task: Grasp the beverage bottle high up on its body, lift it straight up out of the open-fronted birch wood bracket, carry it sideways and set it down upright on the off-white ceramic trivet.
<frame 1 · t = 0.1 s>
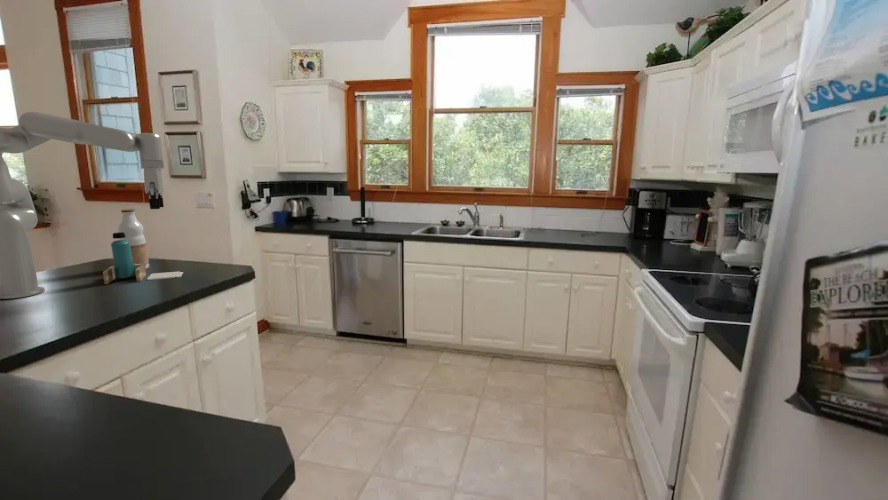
hand: (157, 208, 164), 30 cm above the worktop, tool pointing down, fingers open, 9 cm apart
bottle bracket: (126, 279, 170), on the worktop
trivet: (166, 276, 176), on the worktop
beverage bottle: (126, 279, 170), on the worktop
fruit juice: (137, 269, 188), on the worktop
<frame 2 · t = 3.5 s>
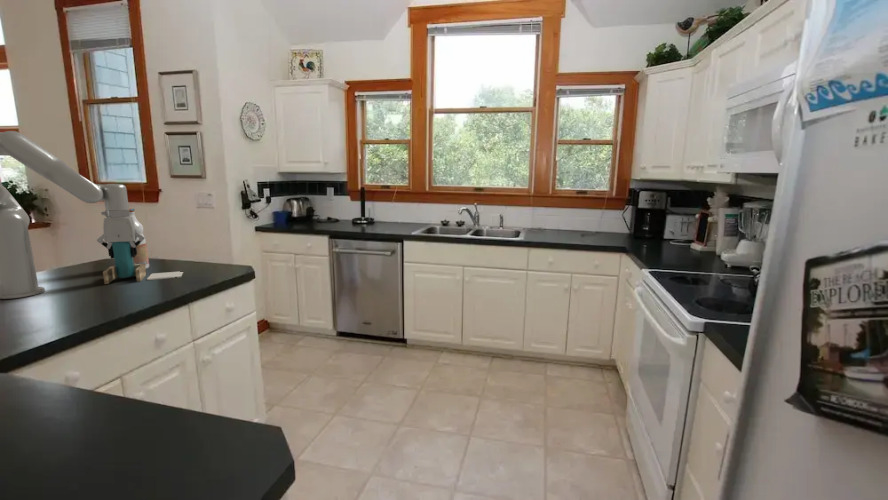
hand: (123, 256, 168), 10 cm above the worktop, tool pointing down, fingers closed on beverage bottle, 6 cm apart
beverage bottle: (126, 279, 170), on the worktop, touching gripper
everything else where it was.
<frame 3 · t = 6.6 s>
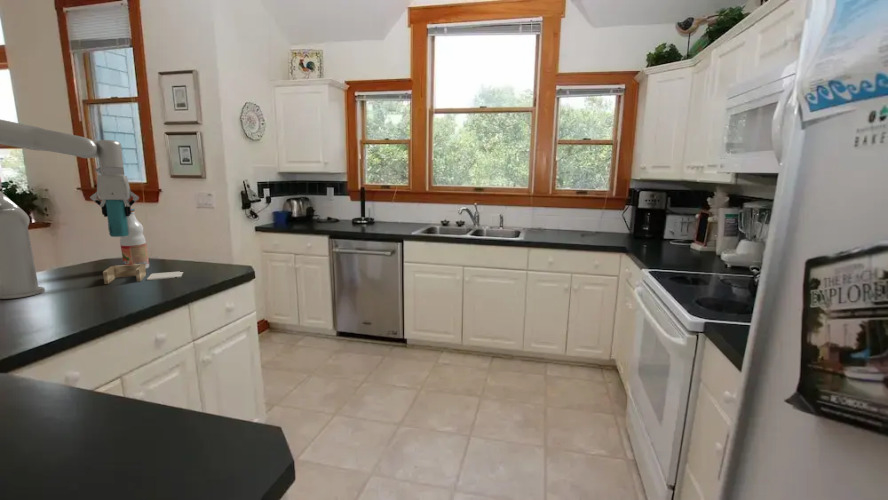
hand: (117, 216, 165), 27 cm above the worktop, tool pointing down, fingers closed on beverage bottle, 6 cm apart
beverage bottle: (119, 239, 167), point 17 cm above the worktop, touching gripper
everything else where it was.
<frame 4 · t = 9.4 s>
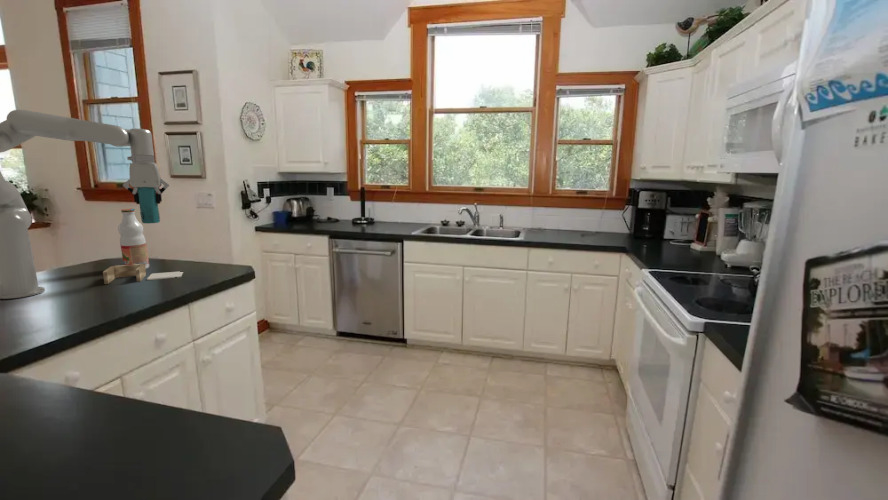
hand: (148, 203, 169), 32 cm above the worktop, tool pointing down, fingers closed on beverage bottle, 6 cm apart
beverage bottle: (151, 226, 171), point 22 cm above the worktop, touching gripper
everything else where it was.
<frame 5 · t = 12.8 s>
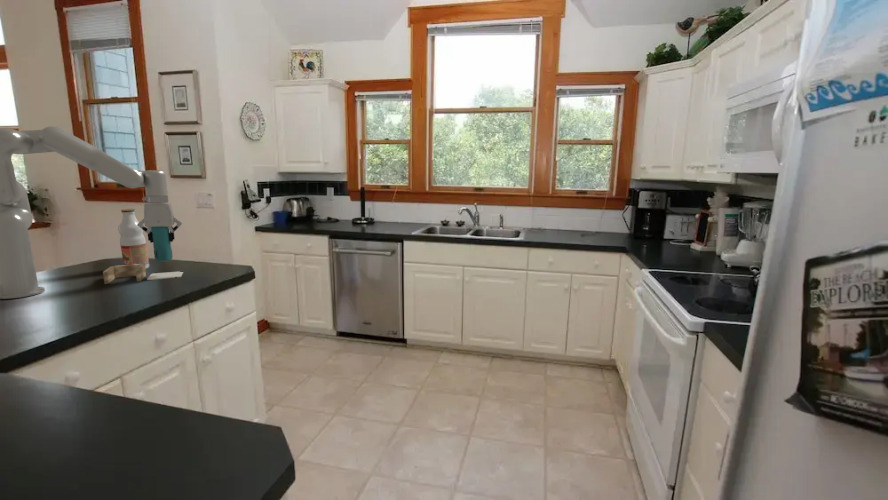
hand: (161, 241, 173), 15 cm above the worktop, tool pointing down, fingers closed on beverage bottle, 6 cm apart
beverage bottle: (164, 263, 175), point 6 cm above the worktop, touching gripper
everything else where it was.
when the fingers open (11 cm above the worktop, at t = 15.7 s): beverage bottle stays where it is, resting on trivet.
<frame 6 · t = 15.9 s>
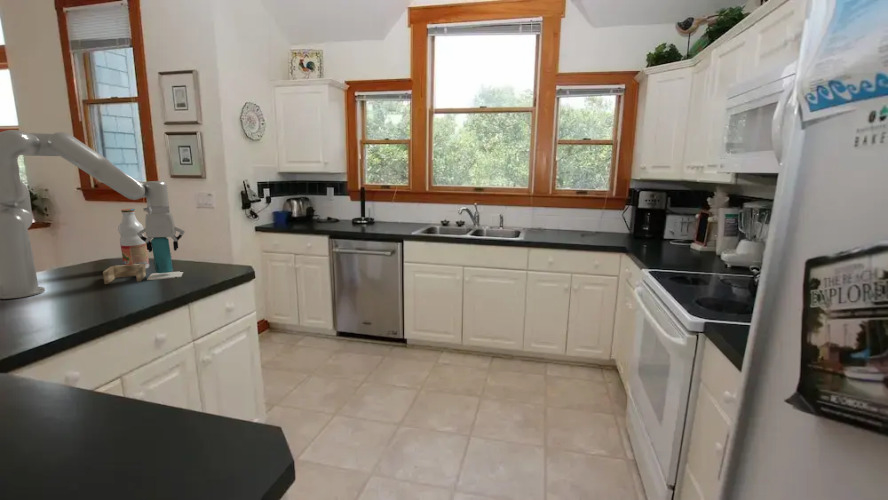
hand: (163, 250, 174), 11 cm above the worktop, tool pointing down, fingers open, 8 cm apart
beverage bottle: (165, 275, 176), resting on trivet
everything else where it was.
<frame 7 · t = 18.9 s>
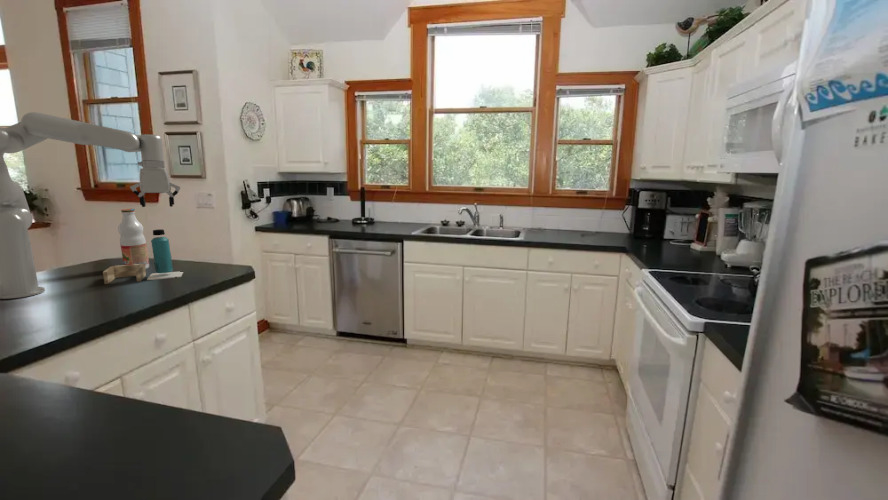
hand: (157, 206, 170), 30 cm above the worktop, tool pointing down, fingers open, 9 cm apart
nothing on the worktop moved.
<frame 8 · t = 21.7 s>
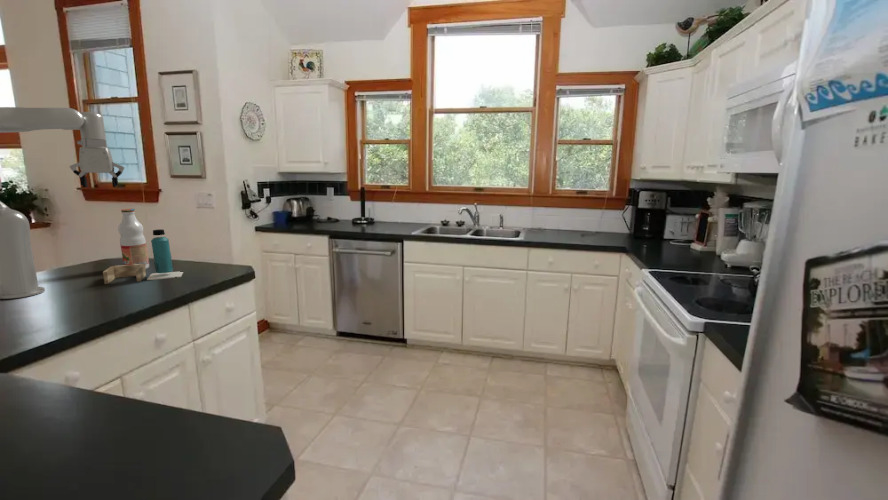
hand: (100, 187, 166), 38 cm above the worktop, tool pointing down, fingers open, 9 cm apart
nothing on the worktop moved.
at the end: beverage bottle inside the target area on the trivet (0.4 cm from its centre), point 0.5 cm above the trivet's base; beverage bottle tilted 2°; the gripper is holding nothing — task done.
